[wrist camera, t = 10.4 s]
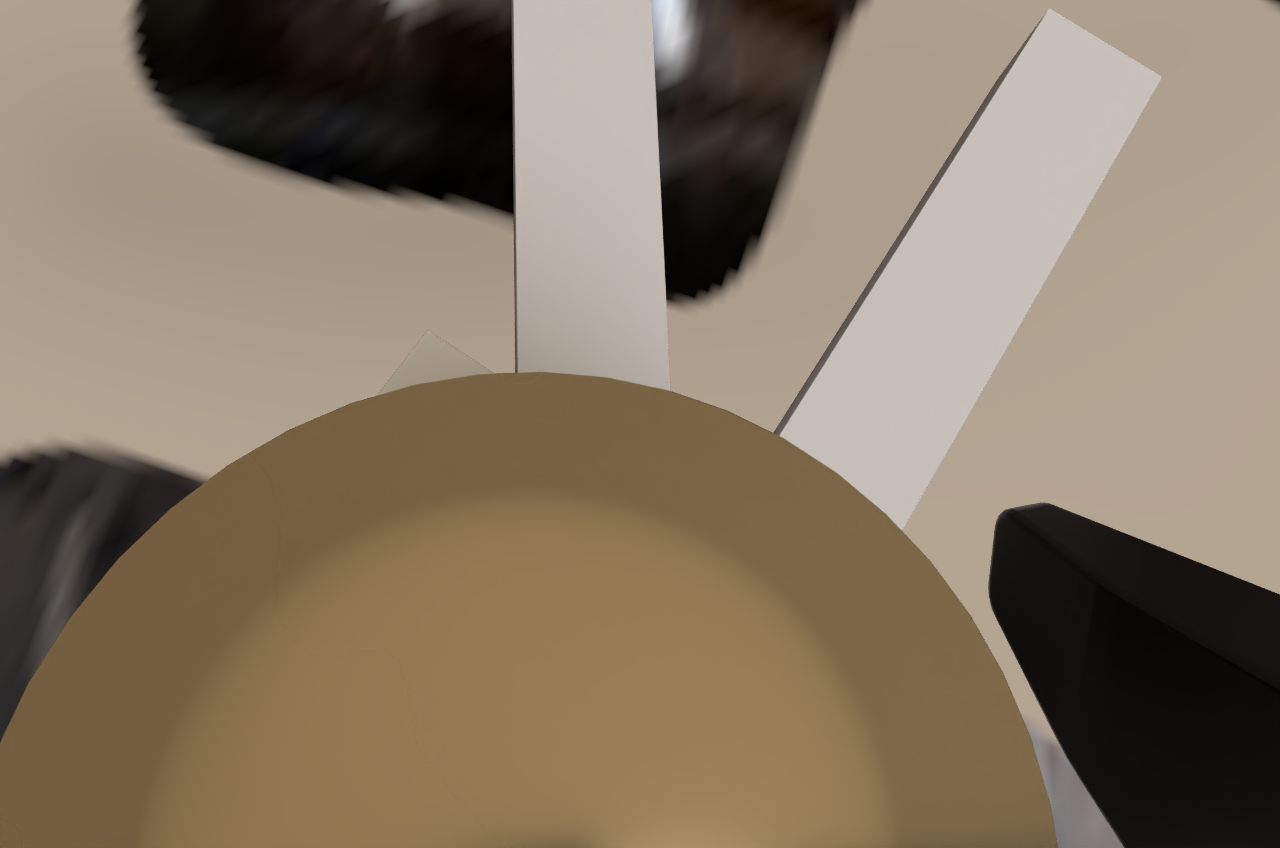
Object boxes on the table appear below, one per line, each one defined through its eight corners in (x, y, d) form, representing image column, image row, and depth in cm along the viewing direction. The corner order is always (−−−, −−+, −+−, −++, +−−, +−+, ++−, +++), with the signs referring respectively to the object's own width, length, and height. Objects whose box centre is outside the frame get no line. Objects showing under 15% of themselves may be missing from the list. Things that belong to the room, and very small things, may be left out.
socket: (593, 1263, 15) (619, 1399, 12) (-177, 718, 16) (-352, 705, 13) (1176, 193, 21) (1302, 87, 18) (588, -169, 22) (604, -335, 19)
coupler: (640, 980, 16) (1065, 1619, 4) (329, 947, 16) (-221, 1537, 4) (672, 668, 18) (1067, 445, 5) (386, 632, 17) (110, 303, 5)
